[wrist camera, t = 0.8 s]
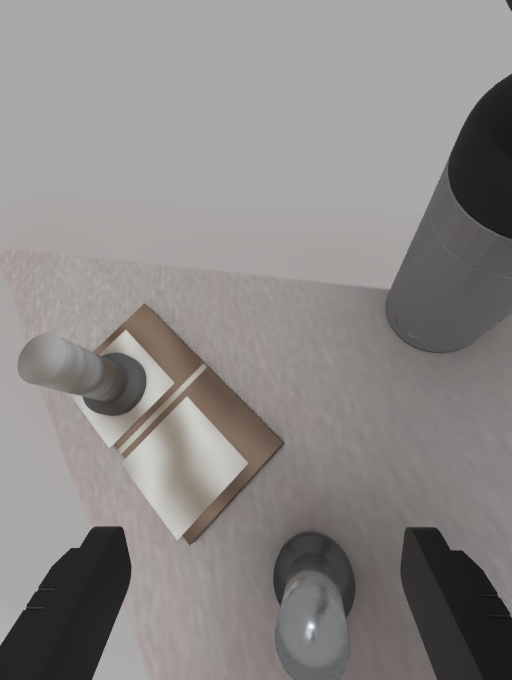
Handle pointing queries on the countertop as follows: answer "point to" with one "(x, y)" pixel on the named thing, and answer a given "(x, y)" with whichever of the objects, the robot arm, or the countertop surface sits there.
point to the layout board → (159, 416)
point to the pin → (313, 607)
